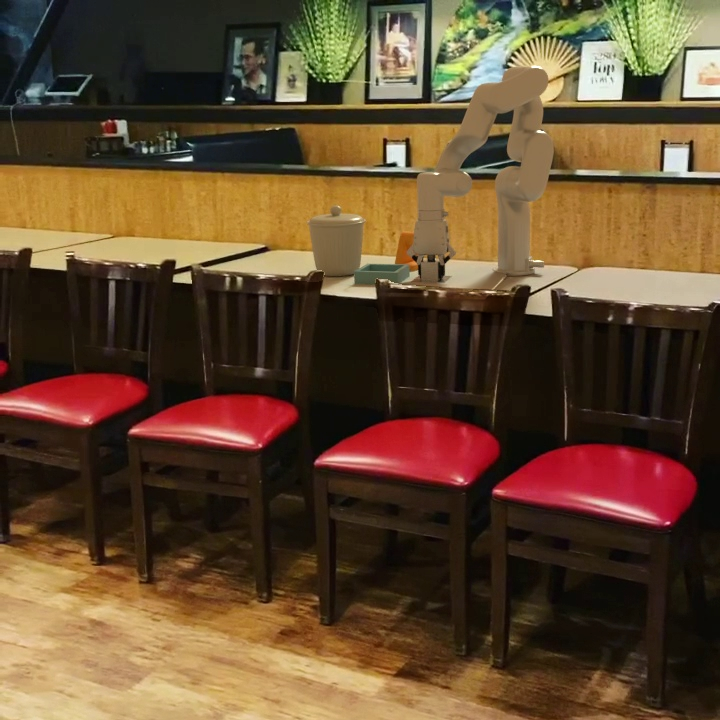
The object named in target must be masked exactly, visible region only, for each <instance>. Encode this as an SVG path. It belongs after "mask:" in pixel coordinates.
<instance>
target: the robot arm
mask: <svg viewBox="0 0 720 720" xmlns="http://www.w3.org/2000/svg"><path fill="white" fill-rule="evenodd" d="M549 83H550V82H549V74H548V73H547V71H546V70H545V69H544V68H542V67H541V66H537V65H526V66H525V65H520V66H519V65H518V66H512V67H509V68H508V69H506V70H505V71H504V73H503V74H502V80H501V81H499V82H485V83H481V84H480V85H478V86H477V87H476V88H475V90H474V92H473V94H472V97H471V100H470V102H469V104H468V106H467V109H466V112H465V114H464V117H463V119H462V122H461V125H460V126H459V129H458V131H457V132H456V134H455V135H454V136H453V137H452V139H451V140H450V141H449V142H448V144H447V145H446V146H445V148H444V149H443V151H442V152H441V153H440V156H439V158H438V161H437V163H436V165H435V167H434V171H425V172H420V173H418V175H417V176H416V192H417V193H416V196H417V219H416V220H415V223H414V229H413V232H414V238H413V244H412V246H411V247H410V248H409V249H408V251H407V252H406V253H407V254H408V255H409V256H410V257H411V258H412V259H413V260H414V261H415V262H416V263H417V265H418V270H417V272H418V273H417V274H418V276H419V275H420V279H421V262H422V261H423V259H425V256H427V255H435V256H437V257H438V258H437V259H439V261H440V265H439V279H442V278H443V276H446V264H447V263H448V262H449V261H450V260H451V259H452V258H453V257H455V256H456V255H457V250H455V249H454V247H453V246H452V245H451V243H450V242H451V241H450V234H449V233H450V232H449V225H448V224H449V223H448V221H447V219H445V218H446V217H449V215H450V214H449V213H450V212H449V211H445V209H444V207H445V205H444V203H445V202H444V201H445V199H444V198H445V197H452V198H460V197H464V196H466V195H468V194H469V193H470V191H471V190H472V188H473V180H472V179H473V178H472V177H471V176H470V175H469V174H468V173H467V172H465V171H463V170H460V169H461V167H462V164H463V163H464V161H465V160H466V159H467V157H469V155H471V153H474V152H475V151H476V150H478V149H479V148H481V147H482V146H483V145H484V144H486V142H487V141H488V139H489V138H488V137H489V136H490V134H491V131H492V128H493V126H494V123H495V120H496V118H497V115H498V114H506V113H508V112H511V111H513V117H512V122H511V128H510V132H509V137H508V141H507V147H506V152H507V156H508V157H509V159H511V160H513V161H514V162H518V163H521V164H520V166H516V165H515V166H514V165H513V166H512V165H511V166H506V167H505V168H502V169H501V170H500V171H499V172H498V173H497V175H496V177H495V179H494V180H495V181H494V190H495V195H496V200H497V201H496V204H497V266H495V267H493V268H492V271H493V272H495V273H501V274H504V276H508V277H513V276H514V277H515V276H516V277H517V276H520V277H521V276H527V275H532V274H534V273H535V272H536V269H535V268H542V269H543V268H545V261H543V260H534V259H533V256H532V255H531V254H530V253H531V251H530V250H531V245H530V242H531V240H530V239H531V209H530V204H529V203H530V202H536V201H537V200H539V199H541V197H542V196H543V194H544V193H545V191H546V187H547V186H548V182H549V176H550V172H551V166H552V162H553V160H554V159H553V158H554V152H555V147H554V146H555V145H554V142H553V141H554V140H553V139H552V137H551V135H549V134H548V133H547V132H545V131H542V124H543V123H542V122H543V118H544V106H543V105H544V104H543V101H542V99H541V97H540V96H542V95H543V94H544V93H545V91H546V90H547V88H548V86H549ZM413 251H414V253H415V254H417V255H418V256H417V255H415V254H414V253H413ZM448 253H449V254H448ZM446 254H448V255H446ZM530 255H531V256H530Z"/></svg>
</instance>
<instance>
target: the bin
mask: <svg viewBox="0 0 720 720" xmlns="http://www.w3.org/2000/svg"><path fill="white" fill-rule="evenodd" d="M410 273H411V272H410V270H409V265H407V264H395V263H366V264H364V265H363V266H360V268H359V269H358V270H356V271H354V274H353V277H354V285H358V284H359V285H376V284H375V279H376V278H378V279H388V280H390V281H391V282H394V283H400V284H401V283H403V282H404V281H405V280H407V279H408V278H409V277H410V275H411V274H410Z"/></svg>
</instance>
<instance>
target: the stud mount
mask: <svg viewBox="0 0 720 720" xmlns="http://www.w3.org/2000/svg"><path fill="white" fill-rule="evenodd" d="M452 277H453V275H445V276H443V278H442V279H439V280H438V281H434V280H421V279H420V275H418V276H416V277H415V278H414V279H412V280H411V281H410V282H411V283H413V282H414V283H439V284H440V283H441V284H442V283H443V284H444V283H446V282H447V281H448V280H450V279H451V278H452Z"/></svg>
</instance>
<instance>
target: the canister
mask: <svg viewBox="0 0 720 720" xmlns="http://www.w3.org/2000/svg"><path fill="white" fill-rule="evenodd" d="M329 212H330V213H326V214H320V215H314V216H313V217H311V218H309V220H307V221H306V224H307V225H308V227H309V234H310V235H309V237H310V241H311V247H312V248H311V249H312V253H313V254H312V255H313V260H314V266H315V268H316V271H317V270H322V271H324V272H325V275H324V276H325V277H347V276H351V275H354V271H356V270H358V269H359V268H361V264H362V263H361V260H362V251H363V238H364V227H365V225H364V224H365V223H366V221H367V220H366V218H363V217H362V216H361V215H358V214H355V213H342V207H341V206H339V205H332V206H331V207H330V208H329Z"/></svg>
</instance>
